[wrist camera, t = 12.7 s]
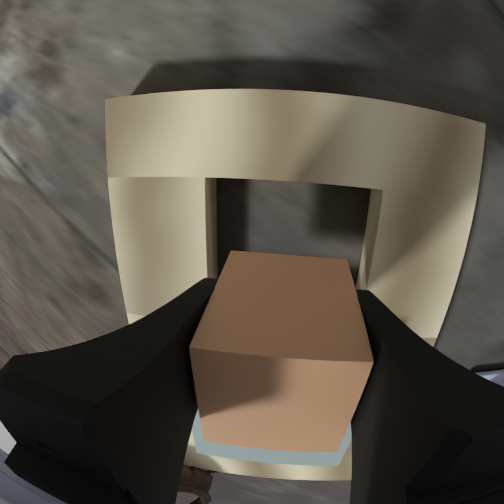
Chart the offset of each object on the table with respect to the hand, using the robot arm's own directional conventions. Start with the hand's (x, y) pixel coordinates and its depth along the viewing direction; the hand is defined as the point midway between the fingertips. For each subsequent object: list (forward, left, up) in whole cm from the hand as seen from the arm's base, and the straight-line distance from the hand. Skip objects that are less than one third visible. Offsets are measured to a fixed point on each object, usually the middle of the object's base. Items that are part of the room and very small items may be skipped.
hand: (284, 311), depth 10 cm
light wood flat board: (0, +6, -6) cm, 8 cm away
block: (0, +1, -2) cm, 2 cm away
